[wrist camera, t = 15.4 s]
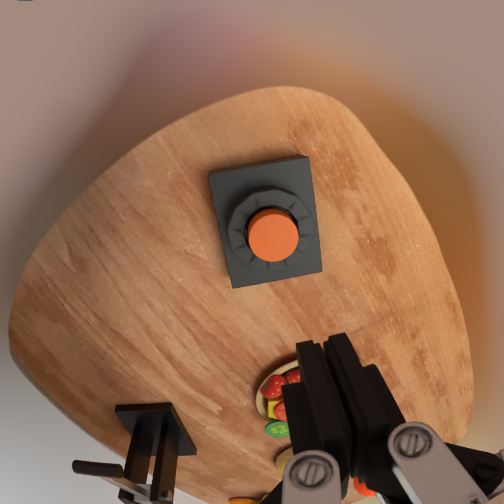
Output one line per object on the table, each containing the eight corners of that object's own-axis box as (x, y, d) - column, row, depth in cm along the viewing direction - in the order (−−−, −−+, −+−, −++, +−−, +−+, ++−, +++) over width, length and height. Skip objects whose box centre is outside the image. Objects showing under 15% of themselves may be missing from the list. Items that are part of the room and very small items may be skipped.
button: (243, 213, 24) (244, 219, 22) (290, 204, 24) (295, 210, 22) (252, 256, 25) (253, 265, 24) (296, 248, 25) (301, 256, 24)
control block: (209, 171, 26) (205, 178, 22) (303, 154, 26) (314, 158, 22) (232, 277, 30) (232, 299, 26) (316, 262, 30) (328, 280, 26)
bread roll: (323, 435, 40) (329, 456, 36) (329, 461, 43) (334, 480, 40) (268, 448, 40) (271, 470, 37) (280, 473, 44) (283, 492, 40)
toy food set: (368, 341, 34) (379, 359, 31) (353, 414, 39) (360, 431, 36) (252, 356, 33) (254, 376, 30) (257, 428, 38) (259, 446, 35)
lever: (73, 453, 22) (70, 475, 20) (117, 457, 22) (115, 481, 20) (134, 487, 29) (133, 504, 27) (170, 489, 29) (171, 506, 27)
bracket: (116, 405, 36) (92, 483, 24) (171, 402, 36) (158, 489, 24) (147, 450, 40) (135, 519, 28) (196, 448, 40) (192, 523, 28)
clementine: (396, 455, 45) (408, 484, 39) (372, 474, 47) (381, 502, 41) (366, 453, 44) (378, 485, 37) (342, 473, 46) (350, 504, 39)
